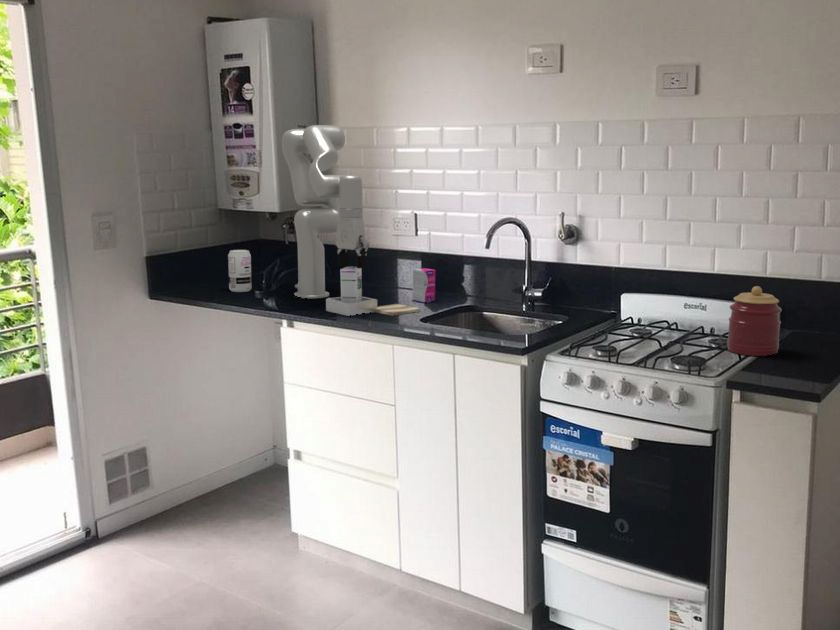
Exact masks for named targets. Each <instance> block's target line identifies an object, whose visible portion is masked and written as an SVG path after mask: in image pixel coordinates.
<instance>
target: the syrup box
mask: <svg viewBox="0 0 840 630" xmlns="http://www.w3.org/2000/svg"><path fill="white" fill-rule="evenodd" d="M339 272H340V274H339V275H340V276H339V277H340V297H341V301H342V302H347V303H351V302H359V301H362V297H363V281H362V280H363V279H362V278H363V277H362V276H363V275H362V268H357V266H344V267H343V268H340V270H339Z"/></svg>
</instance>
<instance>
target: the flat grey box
mask: <svg viewBox="0 0 840 630" xmlns="http://www.w3.org/2000/svg"><path fill="white" fill-rule="evenodd" d="M377 307H378V299H376V298H371V297H367V296H362V301H359V302H351V303H347V302H342V301H341V296H338V297H329V296H328V297H326V299H325V312H329V313H335V314H337V315H343V316H345V317H346V316H348V317H351V316H357V315H356V314H358V315H363V314H362V313H365V314H370V312H371V313H376V312H375V309H377ZM350 315H351V316H350Z"/></svg>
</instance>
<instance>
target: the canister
mask: <svg viewBox="0 0 840 630" xmlns="http://www.w3.org/2000/svg"><path fill="white" fill-rule="evenodd" d="M733 300H734V303H732V304H730V305H729V310H731V313H730V317H729V318H728V323H729V324H728V336H727V340H726V341H727V343H726V344H727V345H726V346H727V351H729V352H730V353H733V354H738V355H744V356H749V357H768V356H767V355H772V354H775V353H777V354H778V351H779V348H780V347H779V346H780V344H779V343H780V342H779V340H780V329H781V327H780V326H781V324H782V321H781V320H780V313H781V312H782V310H783V309H782V308H781V307H780V306H779V305H778V304H779V303H780V300H779V299H778V298H776V297H775V296H774V295H773V294H769V293H765V292H764V293H763V289H762V288H761V286H759V285H756V286H755V285H754V286H753V287H752V288H751V292H741V293H739V294H738V295H736V296H734V297H733ZM775 355H776V354H775ZM772 356H773V355H772Z"/></svg>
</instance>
